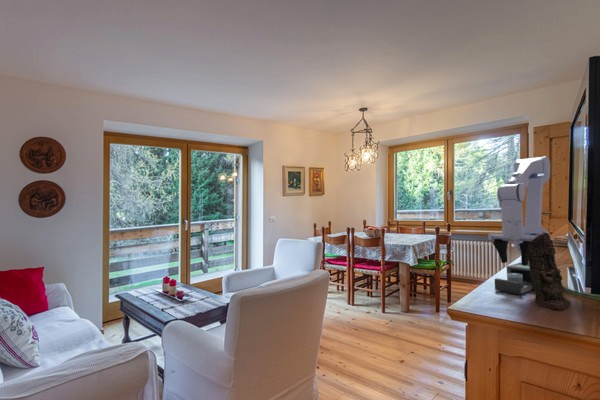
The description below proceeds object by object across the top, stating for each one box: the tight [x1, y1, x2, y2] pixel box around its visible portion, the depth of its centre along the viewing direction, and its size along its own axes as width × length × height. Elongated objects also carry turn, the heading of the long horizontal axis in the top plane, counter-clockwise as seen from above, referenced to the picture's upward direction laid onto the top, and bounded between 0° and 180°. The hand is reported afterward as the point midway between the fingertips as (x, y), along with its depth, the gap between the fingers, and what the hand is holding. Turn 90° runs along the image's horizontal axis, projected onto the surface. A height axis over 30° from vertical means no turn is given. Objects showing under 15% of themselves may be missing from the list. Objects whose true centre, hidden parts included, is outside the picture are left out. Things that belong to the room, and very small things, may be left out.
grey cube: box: [506, 273, 523, 287], centre depth 101 cm, size 4×4×4 cm
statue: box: [528, 232, 572, 311], centre depth 86 cm, size 7×7×20 cm
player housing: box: [506, 262, 532, 283], centre depth 105 cm, size 9×9×6 cm
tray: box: [494, 277, 534, 295], centre depth 101 cm, size 11×7×4 cm, turn 121°
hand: (514, 263), depth 101 cm, fingers open, 5 cm apart
